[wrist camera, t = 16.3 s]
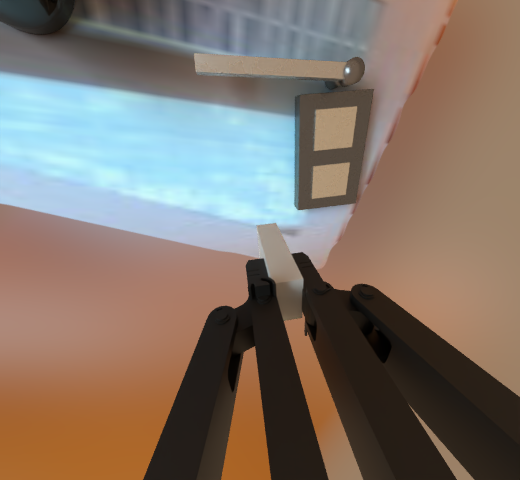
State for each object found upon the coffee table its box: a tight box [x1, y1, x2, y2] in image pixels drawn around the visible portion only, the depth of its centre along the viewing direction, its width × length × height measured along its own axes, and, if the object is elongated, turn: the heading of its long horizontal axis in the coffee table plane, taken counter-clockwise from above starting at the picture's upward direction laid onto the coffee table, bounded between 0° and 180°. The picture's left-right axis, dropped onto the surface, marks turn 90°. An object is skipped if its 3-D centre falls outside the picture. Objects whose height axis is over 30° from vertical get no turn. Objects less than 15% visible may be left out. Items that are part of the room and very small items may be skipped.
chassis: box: [295, 81, 374, 210], centre depth 42 cm, size 25×14×5 cm, turn 4°
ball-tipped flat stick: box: [194, 53, 365, 87], centre depth 31 cm, size 26×3×3 cm, turn 89°
